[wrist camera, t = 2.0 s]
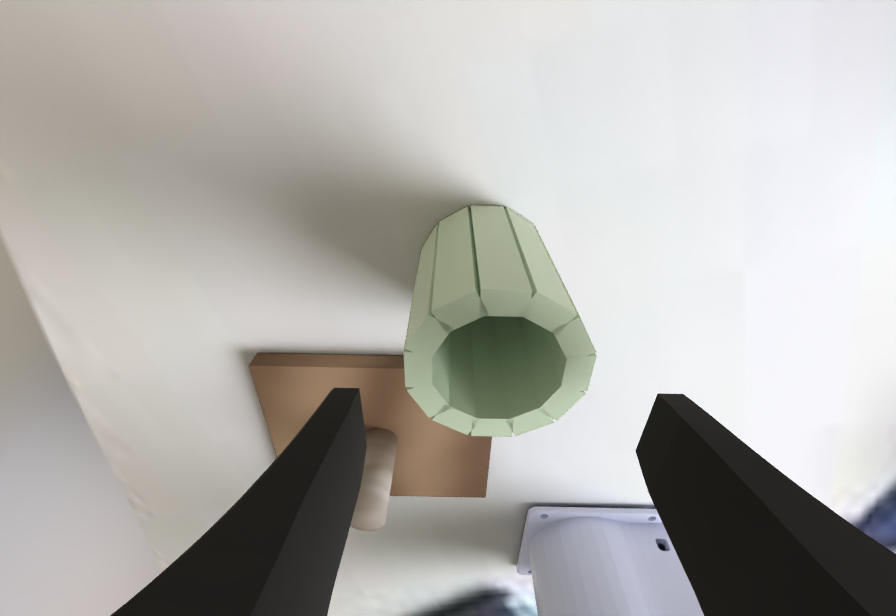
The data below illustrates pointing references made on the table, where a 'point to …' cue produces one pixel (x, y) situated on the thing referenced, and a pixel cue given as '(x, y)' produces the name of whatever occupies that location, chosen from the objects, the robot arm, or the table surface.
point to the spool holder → (373, 428)
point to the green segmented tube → (493, 328)
